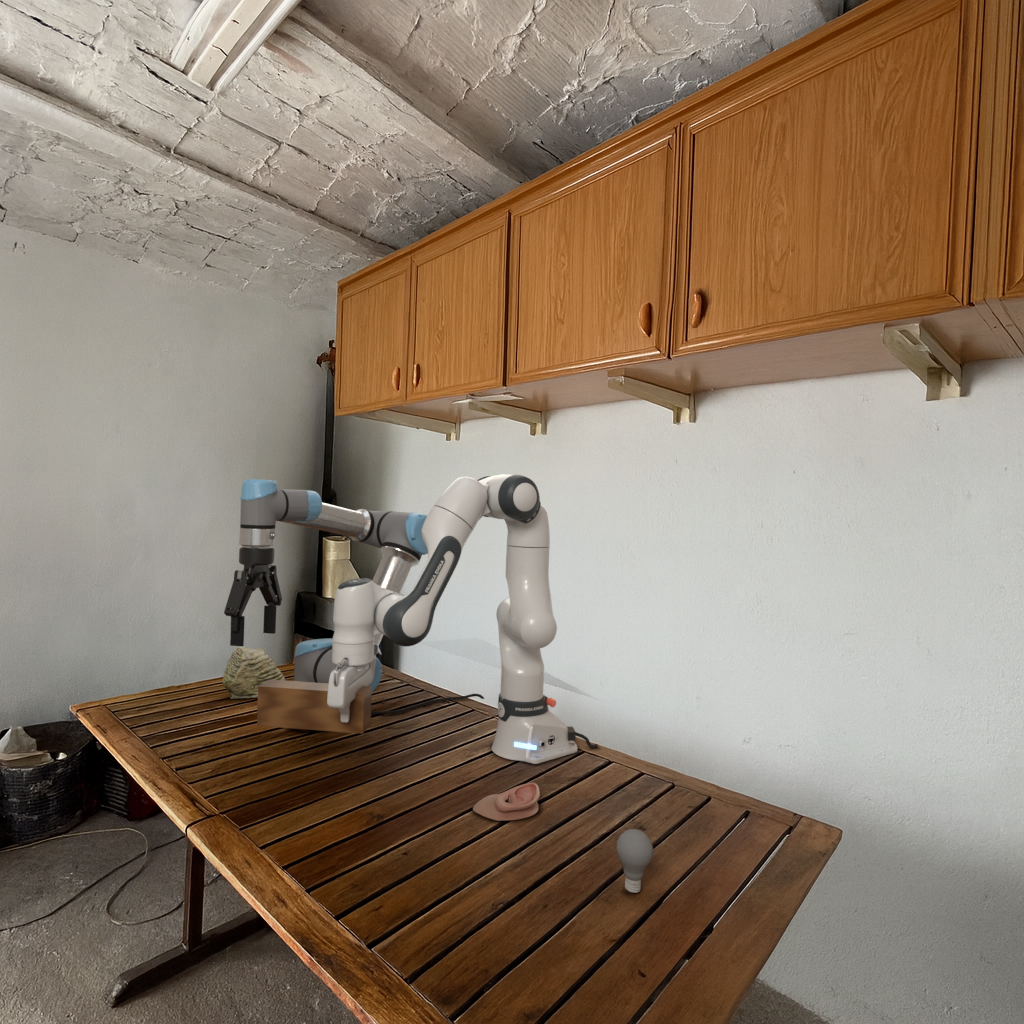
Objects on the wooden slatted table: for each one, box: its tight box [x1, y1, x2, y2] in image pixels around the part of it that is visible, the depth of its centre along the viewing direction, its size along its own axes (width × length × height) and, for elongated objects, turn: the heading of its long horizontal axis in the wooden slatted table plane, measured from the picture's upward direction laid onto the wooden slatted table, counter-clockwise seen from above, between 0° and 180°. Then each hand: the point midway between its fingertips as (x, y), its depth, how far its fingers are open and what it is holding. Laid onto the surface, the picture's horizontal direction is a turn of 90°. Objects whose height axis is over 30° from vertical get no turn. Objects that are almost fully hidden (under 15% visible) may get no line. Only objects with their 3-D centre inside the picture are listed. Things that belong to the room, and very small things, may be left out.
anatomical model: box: [472, 782, 541, 822], centre depth 132 cm, size 13×4×12 cm
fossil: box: [222, 646, 287, 699], centre depth 198 cm, size 9×18×15 cm, turn 132°
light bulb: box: [615, 828, 654, 894], centre depth 106 cm, size 6×6×10 cm
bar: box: [256, 679, 373, 735], centre depth 140 cm, size 24×5×9 cm, turn 85°
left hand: (253, 639), depth 145 cm, fingers open, 13 cm apart
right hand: (351, 715), depth 139 cm, fingers closed on bar, 5 cm apart
